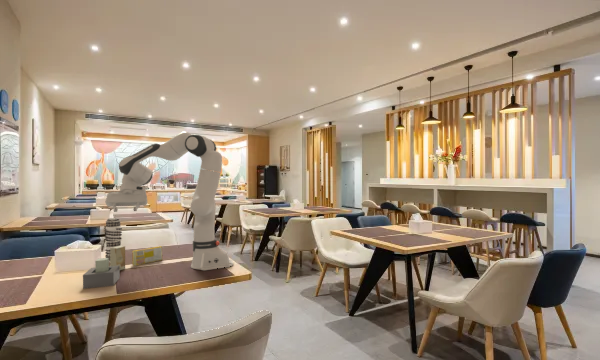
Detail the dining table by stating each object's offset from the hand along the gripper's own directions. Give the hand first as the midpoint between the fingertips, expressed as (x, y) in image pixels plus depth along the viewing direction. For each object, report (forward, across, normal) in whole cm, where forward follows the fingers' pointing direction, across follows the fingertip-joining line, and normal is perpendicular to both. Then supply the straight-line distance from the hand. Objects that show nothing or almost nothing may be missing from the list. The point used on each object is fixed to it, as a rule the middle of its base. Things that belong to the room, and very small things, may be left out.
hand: (125, 210), depth 173 cm
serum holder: (+37, -6, +7) cm, 38 cm away
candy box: (+14, +9, +31) cm, 35 cm away
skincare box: (+22, -4, +23) cm, 32 cm away
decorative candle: (+6, -11, +39) cm, 41 cm away
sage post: (+37, -6, +6) cm, 38 cm away
